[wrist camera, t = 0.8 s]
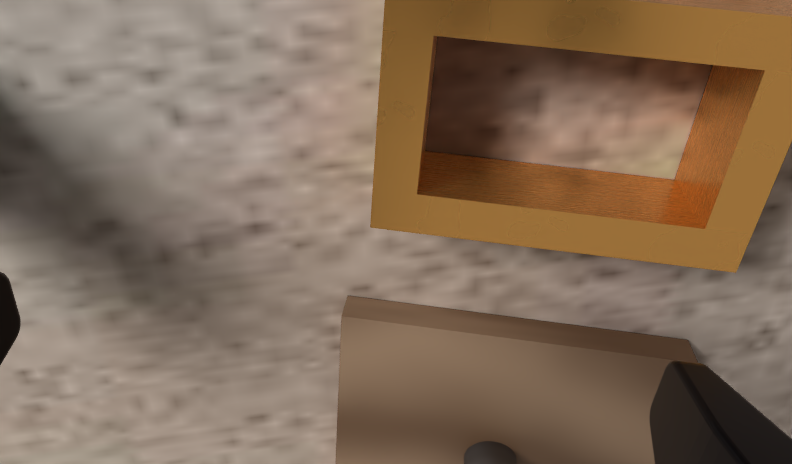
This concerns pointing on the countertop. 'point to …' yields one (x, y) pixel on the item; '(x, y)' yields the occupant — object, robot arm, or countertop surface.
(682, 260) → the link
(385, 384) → the keeper board
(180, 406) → the countertop surface
